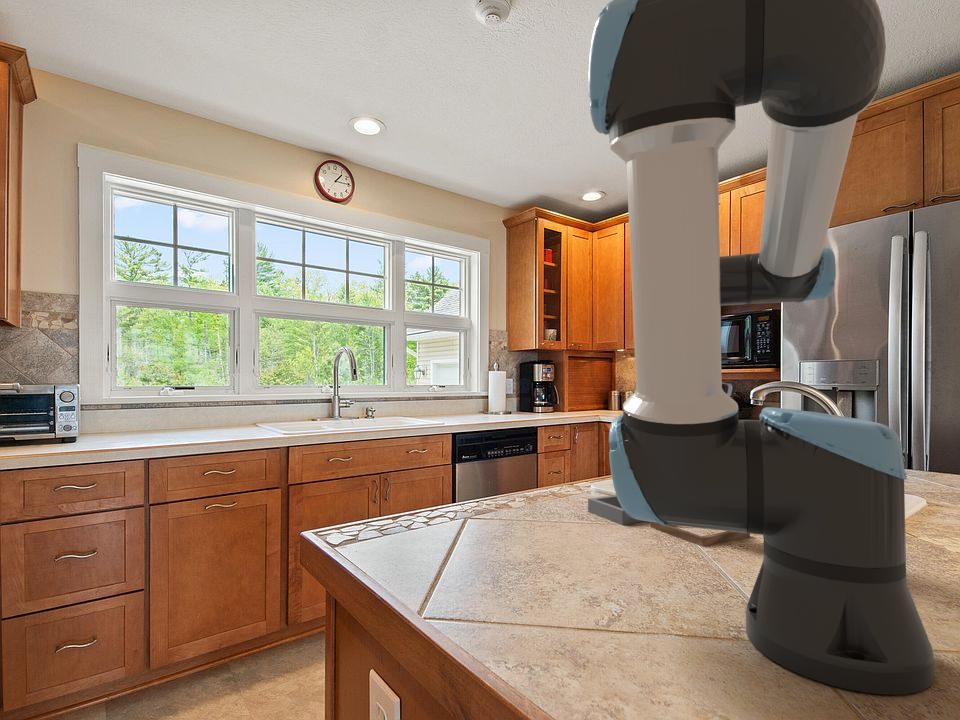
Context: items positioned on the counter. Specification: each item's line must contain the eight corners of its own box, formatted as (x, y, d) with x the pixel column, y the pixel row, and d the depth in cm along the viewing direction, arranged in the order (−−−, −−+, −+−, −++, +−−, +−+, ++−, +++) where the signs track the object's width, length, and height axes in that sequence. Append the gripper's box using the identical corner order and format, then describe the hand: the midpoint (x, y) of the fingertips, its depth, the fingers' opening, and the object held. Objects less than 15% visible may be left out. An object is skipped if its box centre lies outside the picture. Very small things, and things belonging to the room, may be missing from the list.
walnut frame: (702, 545, 81) (702, 538, 81) (650, 527, 91) (650, 520, 91) (749, 536, 86) (749, 529, 86) (696, 519, 96) (696, 513, 96)
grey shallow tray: (622, 524, 93) (622, 510, 93) (588, 511, 102) (588, 498, 102) (702, 511, 102) (701, 498, 102) (663, 500, 111) (663, 488, 111)
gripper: (761, 346, 83) (764, 492, 81) (670, 353, 100) (671, 473, 99) (728, 344, 79) (731, 496, 78) (640, 351, 97) (641, 476, 95)
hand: (698, 483), depth 88 cm, fingers closed on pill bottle, 6 cm apart
